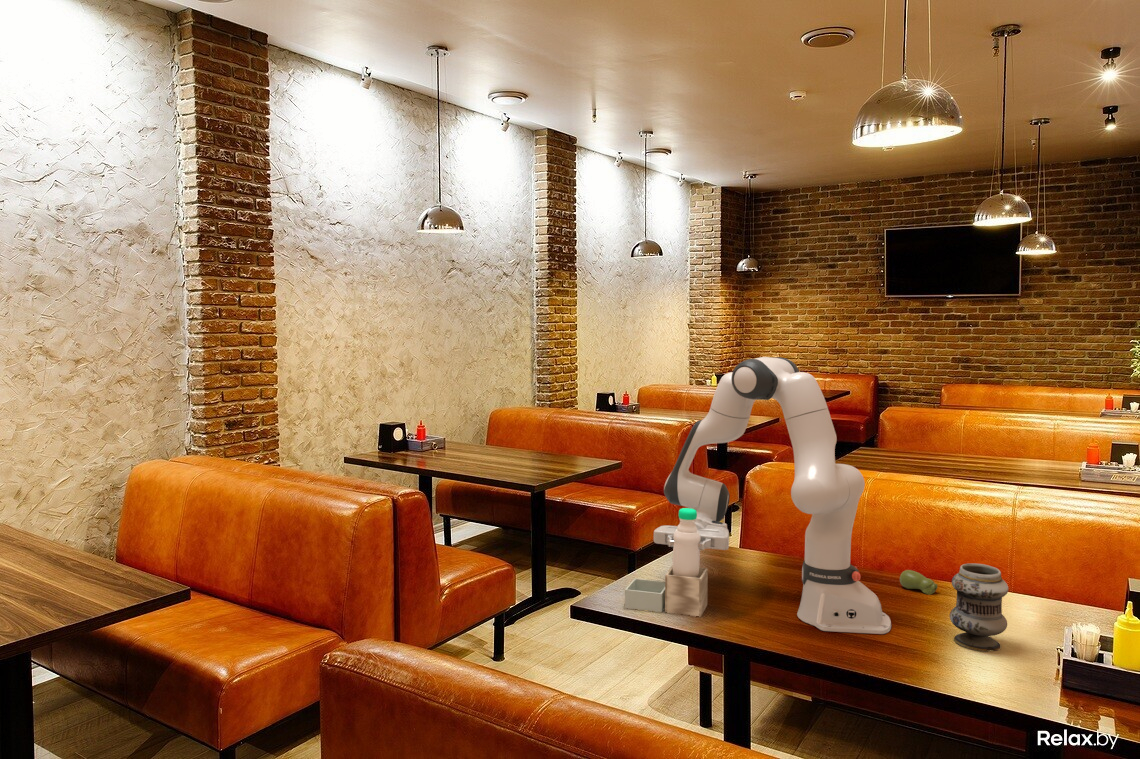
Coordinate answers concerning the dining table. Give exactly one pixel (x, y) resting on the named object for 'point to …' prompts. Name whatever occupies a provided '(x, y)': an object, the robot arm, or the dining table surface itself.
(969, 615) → the apothecary jar
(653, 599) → the bottle caddy
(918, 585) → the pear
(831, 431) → the robot arm
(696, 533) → the water bottle
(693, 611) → the birch sleeve
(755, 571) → the dining table surface
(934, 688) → the dining table surface
